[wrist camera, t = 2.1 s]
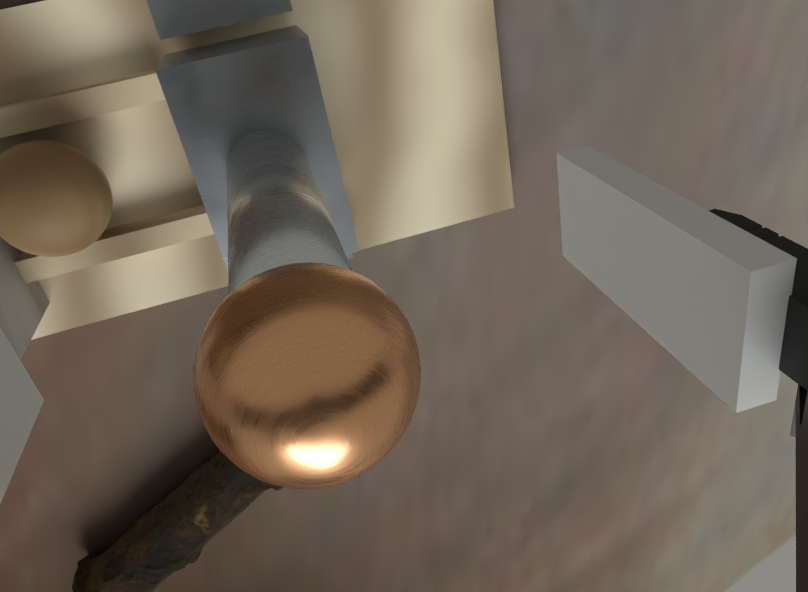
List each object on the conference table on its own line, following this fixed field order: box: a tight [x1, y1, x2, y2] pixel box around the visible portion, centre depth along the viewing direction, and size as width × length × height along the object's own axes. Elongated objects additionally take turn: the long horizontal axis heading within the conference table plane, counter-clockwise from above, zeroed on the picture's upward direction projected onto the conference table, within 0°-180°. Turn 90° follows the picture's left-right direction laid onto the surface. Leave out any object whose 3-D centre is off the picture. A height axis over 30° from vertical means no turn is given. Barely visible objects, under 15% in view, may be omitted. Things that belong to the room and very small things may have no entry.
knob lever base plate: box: [0, 0, 514, 361], centre depth 25 cm, size 28×13×8 cm, turn 100°
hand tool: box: [72, 451, 283, 592], centre depth 35 cm, size 19×4×5 cm, turn 128°
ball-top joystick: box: [146, 0, 421, 489], centre depth 19 cm, size 5×12×20 cm, turn 10°
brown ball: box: [0, 140, 113, 257], centre depth 25 cm, size 4×4×4 cm
